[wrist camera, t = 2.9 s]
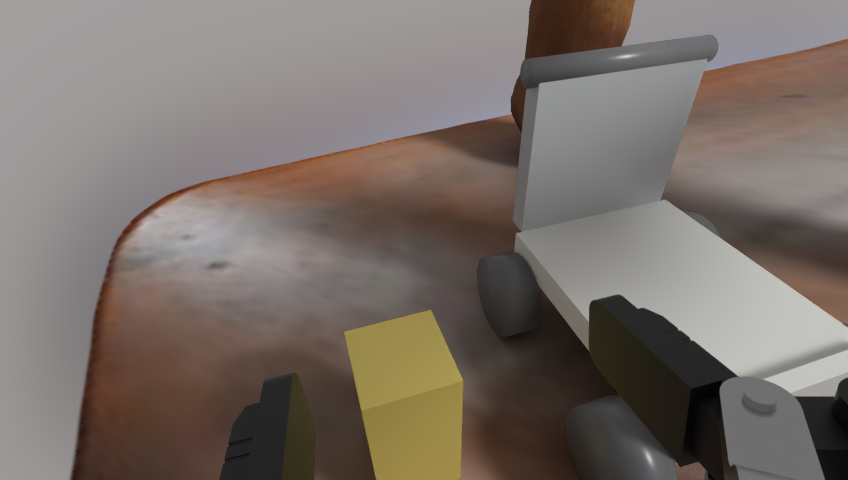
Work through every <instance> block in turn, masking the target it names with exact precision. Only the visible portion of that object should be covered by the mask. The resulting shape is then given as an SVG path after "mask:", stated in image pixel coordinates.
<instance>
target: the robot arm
mask: <svg viewBox="0 0 848 480" xmlns="http://www.w3.org/2000/svg"><path fill="white" fill-rule="evenodd" d="M589 352H590V355H591V358H592V360H593V363H594V364H595V366H596V368H597V369H598V370H599V371H600V373H601V374H602V375H603V376H604V377H605V378H606V380H607V381H608V382H609V383H610V384H611V386H612V387H613V388H614V389H615V390H616V392H617V393H618V394H619V395H620V396H621V397H622V399H623V400H624V401H625V402H626V403H627V405H628V406H629V407H630V408H631V409H632V411H633V412H634V413H635V414H636V415H637V416H638V418H639V419H640V420H641V421H642V422H643V424H644V425H645V426H646V427H647V428H648V430H649V431H650V432H651V433H652V434H653V435H654V437H655V438H656V439H657V440H658V441H659V443H660V444H661V445H662V446H663V447H664V448H665V450H666V451H667V452H668V453H669V454H670V456H671V457H672V458H673V459H674V460H675V462H676V463H677V464H678V465H679V466H680V467H682V466H685V465H689V464H692V463H695V462H700V464H701V465H702V466H703V467H704V468H705V469H706V471H705V478H704V480H848V378H845V379H843V380H841V382H840V383H839V385H838V388H837V391H836V394H835V396H793V395H792V394H791V393H789V392H788V391H787V390H785V389H784V388H782V387H780V386H778V385H776V384H774V383H772V382H769V381H766V380H763V379H759V378H754V377H739V376H737V375H736V374H735V373H734V372H732V371H731V370H730V369H729V368H727V367H726V366H725V365H724V364H722V363H721V362H720V361H719V360H717V359H716V358H715V357H714V356H712V355H711V354H710V353H709V352H707V351H706V350H705V349H704V348H702V347H701V346H700V345H699V344H697V343H696V342H695V341H694V340H693V341H691V340H690V337H689V336H687V335H686V334H685V333H683V332H682V331H681V330H680V331H679V330H678V328H677V327H676V326H675V325H673V324H672V323H671V322H670V321H668V320H667V319H666V318H665V317H663V316H662V315H659V314H657V313H655V312H652V311H650V310H648V309H645V308H639V309H638V308H636V307H635V306H634V305H633V304H632V303H630V302H629V301H628V300H627V299H626V298H624V297H623V296H622V295H619V294H617V295H613V296H609V297H605V298H601V299H597V300H593V301H591V302H590V305H589ZM228 444H229V447H227V451H226V455H225V463H223V468H222V472H221V476H220V480H314V460H315V433H314V426H313V421H312V417H311V414H310V411H309V408H308V405H307V402H306V400H305V397H304V394H303V391H302V388H301V385H300V382H299V379H298V377H297V375H296V373H292V374H287V375H283V376H279V377H275V378H271V379H267V380H265V381H264V383H263V388H262V393H261V398H260V403H257V404H253V405H249V406H246V407H245V408H244V410H243V411H242V413H241V414H240V415H239V417H238V418H237V420H236V421H235V423H234V424H233V427H232V431H231V435H230V439H229V443H228Z"/></svg>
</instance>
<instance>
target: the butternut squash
mask: <svg viewBox="0 0 848 480" xmlns="http://www.w3.org/2000/svg"><path fill="white" fill-rule="evenodd" d="M634 2H635V0H532V1H531V5H530V11H529V28H528V36H527V45H526V53H525V59H530V58H537V57H545V56H552V55H560V54H567V53H575V52H583V51H590V50H598V49H605V48H613V47H620V46H621V45H622V43H623V41H624V38H625V36H626V34H627V31H628V29H629V26H630V21H631V16H632V11H633V7H634ZM525 96H526V88H525V87H524V86H523V84H522V81H521V76H520V75H519V77H518V79H517V81H516V84H515V87H514V91H513V94H512V97H511V112H512V115H513V118H514V120H515V122H516V124H517V126H518V127H519V129H520V131H521V133H522V125H523V115H524V105H525Z"/></svg>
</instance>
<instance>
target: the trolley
mask: <svg viewBox="0 0 848 480" xmlns="http://www.w3.org/2000/svg"><path fill="white" fill-rule="evenodd" d="M717 51H718V42H717V39H716V38H715V37H714V36H713V35H704V36H696V37H689V38H681V39H673V40H666V41H658V42H651V43H644V44H635V45H628V46H620V47H613V48H605V49H598V50H590V51H583V52H575V53H567V54H560V55H552V56H545V57H537V58H530V59H525V60H524V61H523V63H522V65H521V71H520V76H521V81H522V84H523V86H524V87H525V88H526V96H525V105H524V115H523V125H522V134H521V144H520V154H519V164H518V173H517V183H516V193H515V202H514V212H513V222H514V223H515V224H516V226H517V227H518V228H519V229H520V230H521V232H519V233H516V237H515V247H514V252H508V253H503V254H499V255H495V256H491V257H486V258H483V259H481V260H480V262H479V264H478V269H477V282H478V289H479V294H480V299H481V302H482V306H483V309H484V311H485V314H486V316H487V319H488V321H489V323H490V324H491V326H492V328H493V329H494V330H495V332H496V333H497V334H498V335H499V336H501V337H507V336H511V335H514V334H518V333H522V332H525V331H529V330H532V329H535V328H536V327H537V325H538V323H539V320H540V314H541V306H540V298H539V293H542V292H544V293H545V294H546V296H547V297H548V298H549V300H550V301H551V302H552V304H553V305H554V306H555V307H556V309H557V310H558V311H559V313H560V314H561V315H562V317H563V318H564V319H565V321H566V322H567V323H568V324H569V326H570V327H571V328H572V330H573V331H574V332H575V334H576V335H577V336H578V338H579V339H580V340H581V341H582V343H583V344H584V345H585V347H586V348H587V349H588V351H589V305H590V302H591V301H593V300H597V299H601V298H605V297H609V296H613V295H617V294H619V295H622V296H623V297H624V298H626V299H627V300H628V301H629V302H630V303H632V304H633V305H634V306H635V307H636V308H638V309H639V308H645V309H648V310H650V311H652V312H655V313H657V314H659V315H662V316H663V317H665V318H666V319H667V320H668V321H670V322H671V323H672V324H673V325H675V326H676V327H677V328H678V330H679V331H680V330H681V331H682V332H683V333H685V334H686V335H687V336H689V337H690V340H691V341H693V340H694V341H695V342H696V343H697V344H699V345H700V346H701V347H702V348H704V349H705V350H706V351H707V352H709V353H710V354H711V355H712V356H714V357H715V358H716V359H717V360H719V361H720V362H721V363H722V364H724V365H725V366H726V367H727V368H729V369H730V370H731V371H732V372H734V373H735V374H736V375H737V376H739V377H754V378H759V379H763V380H766V381H769V382H772V383H774V384H776V385H778V386H780V387H782V388H784V389H785V390H787V391H788V392H789V393H791V394H792V395H793V396H835V394H836V391H837V388H838V385H839V383H840V382H841V380H843V379H845V378H848V324H845V323H841V322H839V321H838V320H836V319H835V318H833V317H832V316H831V315H829V314H828V313H826V312H825V311H823V310H822V309H821V308H819V307H818V306H816V305H815V304H813V303H812V302H811V301H809V300H808V299H806V298H805V297H803V296H802V295H801V294H799V293H798V292H796V291H795V290H794V289H792V288H791V287H789V286H788V285H786V284H785V283H784V282H782V281H781V280H779V279H778V278H776V277H775V276H774V275H772V274H771V273H769V272H768V271H766V270H765V269H764V268H762V267H761V266H759V265H758V264H756V263H755V262H754V261H752V260H751V259H749V258H748V257H746V256H745V255H744V254H742V253H741V252H739V251H738V250H737V249H735V248H734V247H732V246H731V245H729V244H728V243H727V242H725V241H724V240H722V239H721V238H720V235H719V233H718V231H717V230H716V228H715V227H714V226H713V224H712V223H711V222H710V221H709V220H708V219H707V218H705V217H704V216H702V215H700V214H698V213H696V212H692V211H683V212H682V211H681V210H680V209H678V208H677V207H675V206H674V205H672V204H671V203H670V202H668V201H667V200H661V197H662V194H663V191H664V188H665V185H666V182H667V179H668V176H669V173H670V171H671V168H672V165H673V162H674V159H675V156H676V153H677V150H678V147H679V144H680V141H681V138H682V135H683V132H684V129H685V126H686V123H687V120H688V117H689V114H690V111H691V108H692V105H693V102H694V99H695V96H696V93H697V90H698V87H699V84H700V81H701V78H702V75H703V72H704V69H705V66H706V63H707V62H709V61H711V60H712V59H713V58H714V57H715V55H716V54H717ZM660 200H661V201H660ZM566 436H567V442H568V446H569V450H570V453H571V457H572V459H573V462H574V465H575V467H576V470H577V472H578V474H579V477H580V479H581V480H678V477H677V473H676V469H675V466H674V463H675V464H676V465H677V463H676V462H675V460H674V459H673V458H672V457H671V456H670V454H669V453H668V452H667V451H666V450H665V448H664V447H663V446H662V445H661V444H660V443H659V441H658V440H657V439H656V438H655V437H654V435H653V434H652V433H651V432H650V431H649V430H648V428H647V427H646V426H645V425H644V424H643V422H642V421H641V420H640V419H639V418H638V416H637V415H636V414H635V413H634V412H633V411H632V409H631V408H630V407H629V406H628V405H627V403H626V402H625V401H624V400H623V399H622V397H621V396H619V395H609V396H606V397H603V398H600V399H597V400H594V401H591V402H588V403H584V404H581V405H578V406H575V407H572V408H571V409H570V410H569V411H568V414H567V417H566ZM672 460H673V461H672ZM673 462H674V463H673Z"/></svg>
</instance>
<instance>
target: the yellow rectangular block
mask: <svg viewBox="0 0 848 480" xmlns="http://www.w3.org/2000/svg"><path fill="white" fill-rule="evenodd" d="M344 334H345V339H346V344H347V348H348V353H349V358H350V362H351V367H352V372H353V376H354V381H355V386H356V390H357V395H358V400H359V404H360V409H361V414H362V418H363V423H364V428H365V432H366V437H367V441H368V446H369V450H370V455H371V459H372V464H373V469H374V473H375V478H376V480H457V479H460V474H461V440H462V406H463V379H462V377H461V375H460V372H459V370H458V368H457V366H456V364H455V361H454V359H453V357H452V355H451V352H450V350H449V348H448V346H447V344H446V341H445V339H444V337H443V335H442V333H441V330H440V328H439V326H438V324H437V322H436V319H435V317H434V315H433V313H432V310H428V311H424V312H420V313H416V314H412V315H408V316H404V317H400V318H396V319H392V320H388V321H384V322H380V323H376V324H372V325H369V326H365V327H361V328H357V329H353V330H349V331H345V332H344Z"/></svg>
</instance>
